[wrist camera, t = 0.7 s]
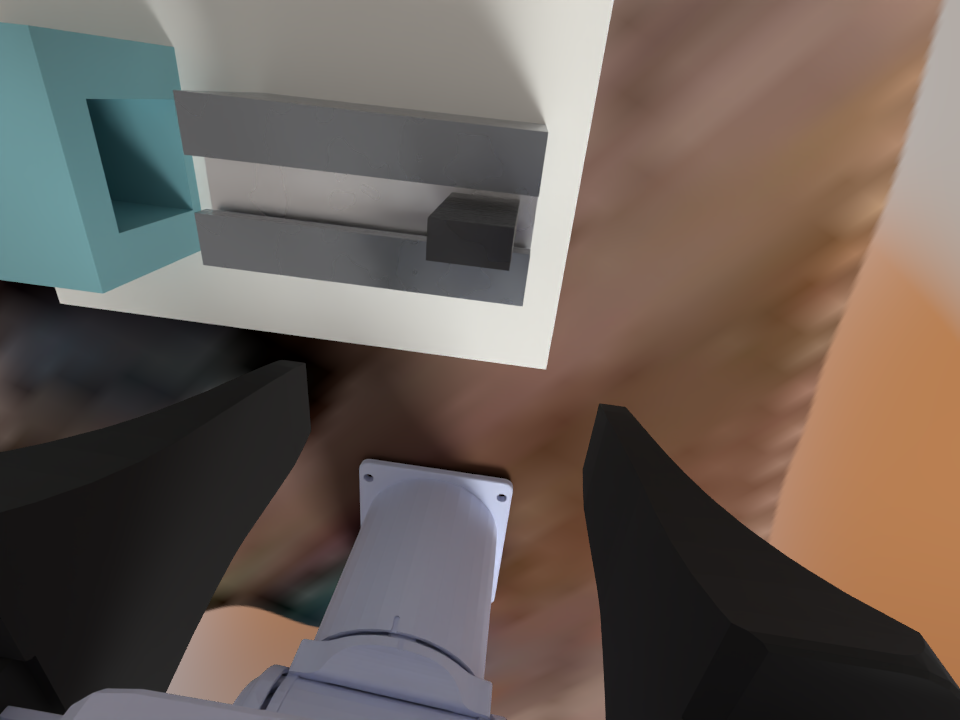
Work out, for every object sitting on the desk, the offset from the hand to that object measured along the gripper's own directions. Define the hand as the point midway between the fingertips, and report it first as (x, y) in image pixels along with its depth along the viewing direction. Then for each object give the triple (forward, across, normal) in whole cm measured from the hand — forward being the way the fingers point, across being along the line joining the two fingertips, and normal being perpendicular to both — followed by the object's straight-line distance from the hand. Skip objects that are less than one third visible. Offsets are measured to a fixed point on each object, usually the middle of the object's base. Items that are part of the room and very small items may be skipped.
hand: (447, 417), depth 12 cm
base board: (+10, +8, -4) cm, 13 cm away
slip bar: (+8, +3, -4) cm, 10 cm away
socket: (+9, +15, -4) cm, 18 cm away
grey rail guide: (+9, +3, -4) cm, 10 cm away
